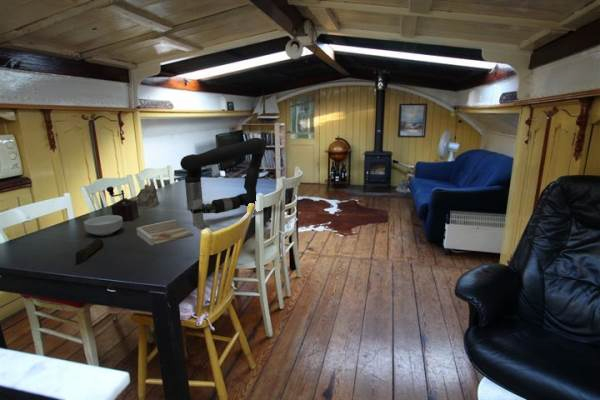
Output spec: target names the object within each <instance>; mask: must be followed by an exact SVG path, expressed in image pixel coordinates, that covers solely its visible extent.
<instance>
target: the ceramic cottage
mask: <svg viewBox="0 0 600 400" xmlns="http://www.w3.org/2000/svg"><path fill="white" fill-rule="evenodd" d="M154 184H155V183H154V182H153V181H151V183H150V185H148V184H144V188H142V189H140V190H139V192H138V194H137V195H136V197H137V199H136V200H137V206H138V210H146V209H151V208H155V207H158V206H159V205H160V202H159V198H158V195H157V192H158V189H156V187H155V185H154Z"/></svg>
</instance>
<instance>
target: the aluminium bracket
mask: <svg viewBox="0 0 600 400" xmlns="http://www.w3.org/2000/svg"><path fill="white" fill-rule="evenodd" d="M202 199H203V198H202ZM202 199H201V198H198V199H192V200H191V207H192V213H191V215H192V225H193V227H195V228H197V229H198V230H203V229H207V228H210V224H209V223H208V222H206V221H204V214H203V213H197V214H193V210H194V209H199V208H202ZM206 227H207V228H206Z"/></svg>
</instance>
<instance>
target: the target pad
mask: <svg viewBox="0 0 600 400" xmlns="http://www.w3.org/2000/svg"><path fill="white" fill-rule="evenodd" d="M147 233H148V234H149V235H151V236H152V237H153V238H154V246H155V245H160V244H162V243H168V242H171V241H176V240H180V239H184V238H189V237H192V236H194V234H193V233H192V232H190V231H189V230H187V229H185V228H184V227H183V226H180V225H178V226H173V227H169V228H164V229H160V230H155V231H151V232H147Z"/></svg>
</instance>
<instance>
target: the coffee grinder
mask: <svg viewBox="0 0 600 400" xmlns="http://www.w3.org/2000/svg"><path fill="white" fill-rule="evenodd" d="M114 190H115V187H114V186H107V188H106V189H105V191H106V192H108V193H109V196H110V197H111V198H113V197H120V196H121V197H122V199H119V200H118V201H116V202H115V203H113V204H111V205H110V207H111V215H117V216H121V217H122V218H123V223H124V222H125V223H126V222H133V221H135V220H136V219H138V218H139V217H140V215H139V209H138V206H137V203H138V201H137V199H136V200H132V199H128V198H127V197H125V192H124V191H125V190H123V189H122V190H121V191H120V192H121V193H119V194H115V192H114Z"/></svg>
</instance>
